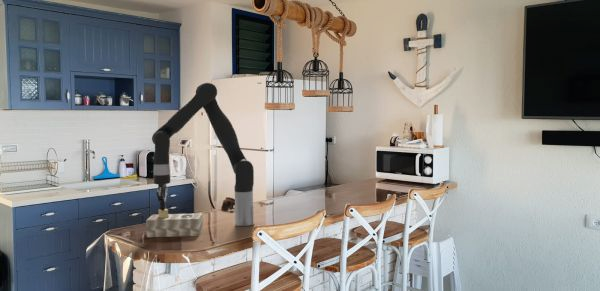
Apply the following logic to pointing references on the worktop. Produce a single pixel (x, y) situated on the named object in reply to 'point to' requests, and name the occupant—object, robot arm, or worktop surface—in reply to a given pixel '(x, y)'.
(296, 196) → the worktop surface
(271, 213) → the worktop surface
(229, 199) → the pottery mug
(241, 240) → the worktop surface
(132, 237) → the worktop surface
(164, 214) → the brass peg
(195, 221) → the ash socket block
